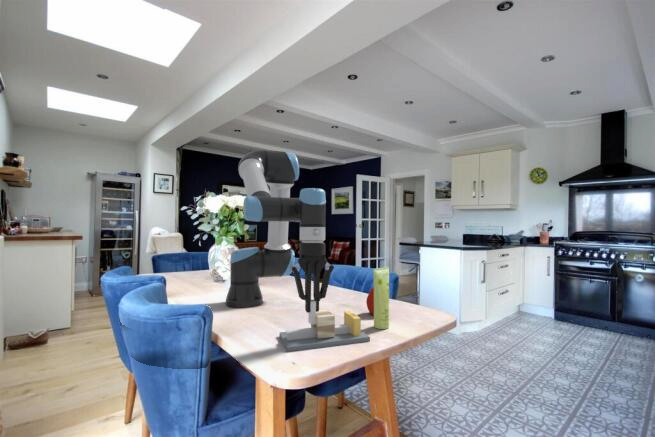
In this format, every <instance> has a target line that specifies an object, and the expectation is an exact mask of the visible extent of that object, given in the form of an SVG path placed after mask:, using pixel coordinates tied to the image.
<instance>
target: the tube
mask: <svg viewBox="0 0 655 437" xmlns="http://www.w3.org/2000/svg"><path fill="white" fill-rule="evenodd" d="M373 287H374V315H373V327H374V328H376V329H377V330H378V329H379V330H386V329H389V328H390V267H389V266H384V267H377V268H373Z"/></svg>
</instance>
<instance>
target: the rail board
mask: <svg viewBox="0 0 655 437" xmlns="http://www.w3.org/2000/svg"><path fill="white" fill-rule="evenodd" d="M343 312H344V313H343V324H335V337H329V338H321V339H318V338H317V337H316V327H314V328H311V327H307V328H297V329H288V330H287V329H286V330H285V331H281V332H279V338H280V340H281V342H282V344H283V346H284V348H285V349H286V351H287V353H288V352H297V351H304V350H312V349H321V348H327V347H335V346H342V345H343V346H344V345H350V344H357V343H358V344H359V343H360V344H361V343H366V342H370V341H371V337H370V335H368V334H366V332H365V331H363V330H361V329H362V326H361V322H362V320H361V317H359V316H358V315H356V314H355V313H354V312H352V311H351V310H348V311H343Z"/></svg>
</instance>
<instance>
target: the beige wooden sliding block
mask: <svg viewBox="0 0 655 437" xmlns="http://www.w3.org/2000/svg"><path fill="white" fill-rule="evenodd" d="M335 325H336V316H335V314H333V313H332V312H331V311H330V310H328V309H319V311H318V312H316V324H314V325H311V324H310V326H311V327H310V328H314V327H316V337H317V338H318V339H321V338H329V337H335Z"/></svg>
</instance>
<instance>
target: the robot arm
mask: <svg viewBox="0 0 655 437" xmlns="http://www.w3.org/2000/svg"><path fill="white" fill-rule="evenodd" d="M237 167H238V168H237V171H238V174H239V176H240V178H241V179H242V180H243V185H244V188H245V192H246V196H245V197H244V199H243V205H242V207H243V208H242V209H243V211H242V212H243V218H244V220H245V221H248V222H258V223H259V222H268V227H267V228H268V229H267V230H268V231H267V242H266V243H265V244H264V246H263V250H262V249H261V250H260V247H258V246H253V247H244V248H239V249H235V250H232V252H231V253H230V261H229V263H230V278H229V279H230V281H229V282H230V284H229V289H228V292H227V294H226V297H225V306H227V307H230V308H240V309H241V308H251V307H255V306H256V307H257V306H260V305H262V304H263V302H264V301H263V299H264V298H263V294H262V291H261V287H260V284H259V283H260V282H259V278H274V277H278V278H281V277H287V276H290V274H293V276H294V281H295V286H296V289H297V294H298V297H299V299H301V300H303V301H305V302H304V305H305V306H304V308H305V312H306V313H308V315H307V316H308V321H307V322H308V324H310V326H311V325H314V324H316V312H318V311H319V310H320V301H321V300H322V299H325V298H326V296H327V291H328V287H329V282H330V279H331V275H332V272H333V270H334V269H335V266H334V265H333V264H330V263H329V262H328V260H327V257H326V243H325V242H324V241H325V240H326V205H327V204H326V203H327V200H326V191H325V190H324V189H322V188H315V187H311V188H310V187H308V188H307V187H306V188H301V189H300V191H299V197H291V188H292V187H293V186H294V185H295V181H298V180H299V176H300V165H299V160H298V157H297V155H296V154H295V153H293V152H289V151H288V152H287V151H282V150H281V151H278V150H266V149H265V150H264V149H256V150H252V151H249V152H248V153H246V154H245V155H244V156H242V158H241V159H240V161H239V162H238V166H237ZM290 222H295V223H299V241H301V242H300V243H299V257H298V260H297V262H296V261H295V260H296V259H295V251H294V250H293V249H292V246H291V245H290V243H288V242H289V239H288V238H289V224H290ZM295 262H296V263H295ZM300 269H301V270H302V271H303V272H304V288H303V283H302V278H301V275H300ZM323 269H324V272H323V277H322V281H321V278H320V277H321V272H322V271H323ZM312 277H313V280H312ZM312 282H313V284H312ZM312 285H313V286H312ZM320 285H321V286H320ZM312 288H313V289H312ZM312 290H313V294H312ZM312 295H313V299H312Z"/></svg>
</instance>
